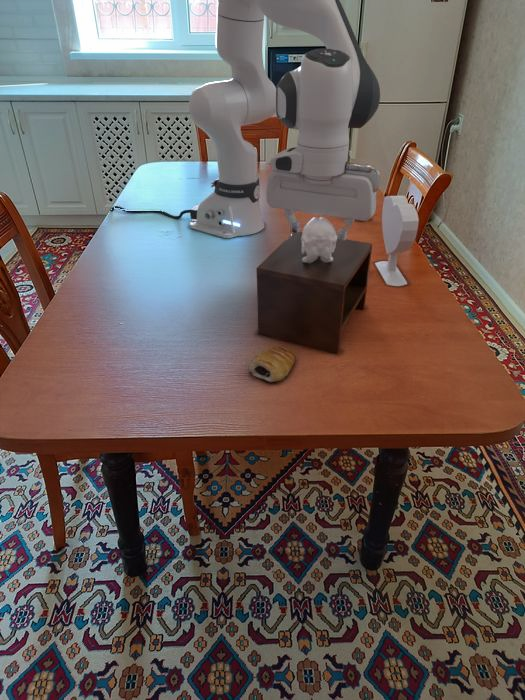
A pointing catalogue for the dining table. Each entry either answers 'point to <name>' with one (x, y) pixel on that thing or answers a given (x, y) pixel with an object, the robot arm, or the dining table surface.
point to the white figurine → (318, 240)
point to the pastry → (273, 363)
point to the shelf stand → (311, 292)
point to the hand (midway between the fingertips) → (317, 235)
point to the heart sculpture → (397, 236)
